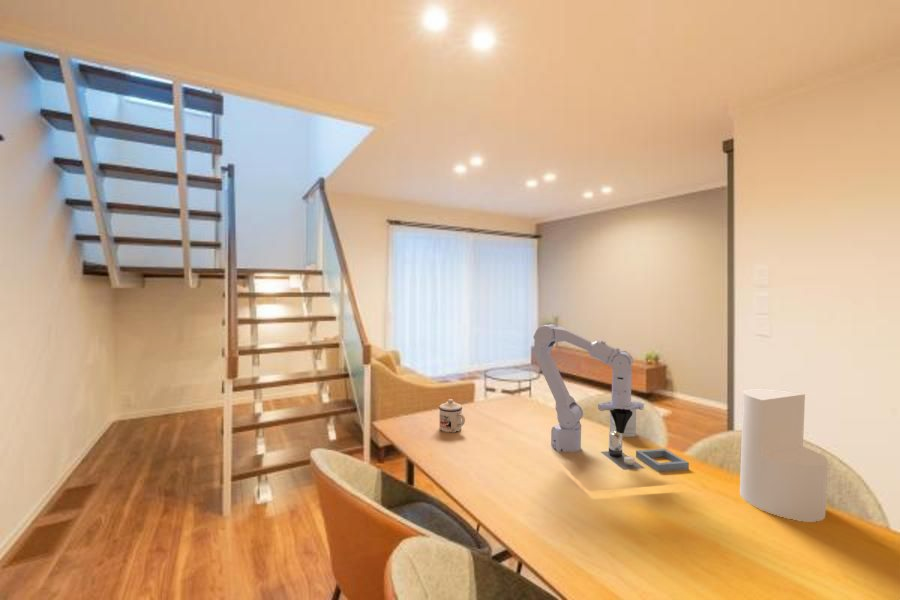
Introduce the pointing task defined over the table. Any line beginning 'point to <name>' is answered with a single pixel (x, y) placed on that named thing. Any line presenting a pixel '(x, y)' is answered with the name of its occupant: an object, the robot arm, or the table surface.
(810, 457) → the white stepped block
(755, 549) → the table surface
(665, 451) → the bin
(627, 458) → the test button
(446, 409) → the teacup with lid
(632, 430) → the supplement box
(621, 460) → the base
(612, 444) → the battery cell
